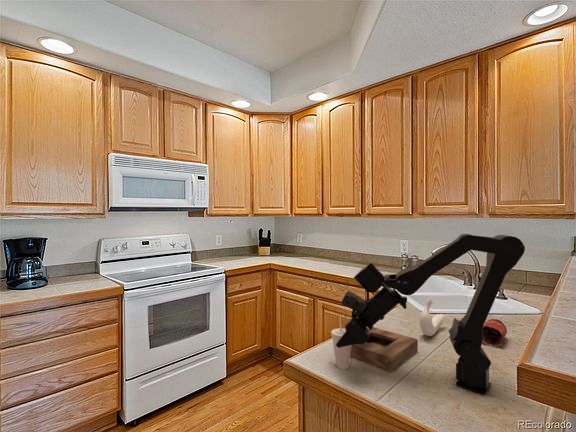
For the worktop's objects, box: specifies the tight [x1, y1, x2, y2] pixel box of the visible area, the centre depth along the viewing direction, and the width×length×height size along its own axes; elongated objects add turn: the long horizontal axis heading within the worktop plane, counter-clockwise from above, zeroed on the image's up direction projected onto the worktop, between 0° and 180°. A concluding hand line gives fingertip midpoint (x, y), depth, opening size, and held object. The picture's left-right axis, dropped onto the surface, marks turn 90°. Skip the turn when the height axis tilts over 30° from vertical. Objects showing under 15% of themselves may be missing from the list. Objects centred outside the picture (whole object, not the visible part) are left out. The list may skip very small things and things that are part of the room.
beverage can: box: [482, 318, 508, 348], centre depth 106 cm, size 7×12×7 cm, turn 138°
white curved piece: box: [419, 298, 446, 337], centre depth 113 cm, size 5×19×15 cm, turn 141°
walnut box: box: [350, 326, 419, 373], centre depth 98 cm, size 18×18×4 cm
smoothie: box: [330, 315, 351, 370], centre depth 89 cm, size 6×6×14 cm
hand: (339, 339), depth 90 cm, fingers open, 9 cm apart
